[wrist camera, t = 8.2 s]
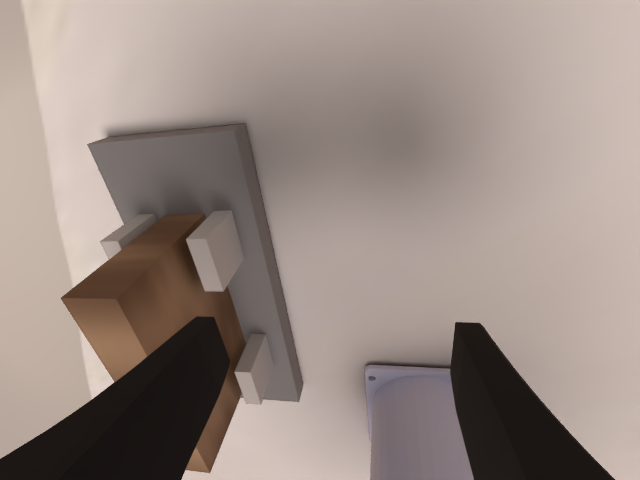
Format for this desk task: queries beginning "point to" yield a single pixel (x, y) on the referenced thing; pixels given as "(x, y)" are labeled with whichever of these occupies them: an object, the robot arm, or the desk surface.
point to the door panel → (158, 314)
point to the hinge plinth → (211, 234)
